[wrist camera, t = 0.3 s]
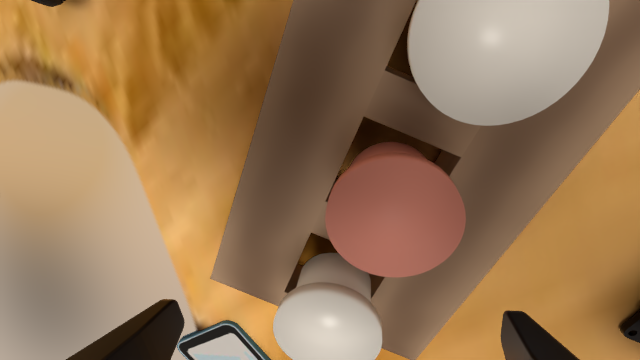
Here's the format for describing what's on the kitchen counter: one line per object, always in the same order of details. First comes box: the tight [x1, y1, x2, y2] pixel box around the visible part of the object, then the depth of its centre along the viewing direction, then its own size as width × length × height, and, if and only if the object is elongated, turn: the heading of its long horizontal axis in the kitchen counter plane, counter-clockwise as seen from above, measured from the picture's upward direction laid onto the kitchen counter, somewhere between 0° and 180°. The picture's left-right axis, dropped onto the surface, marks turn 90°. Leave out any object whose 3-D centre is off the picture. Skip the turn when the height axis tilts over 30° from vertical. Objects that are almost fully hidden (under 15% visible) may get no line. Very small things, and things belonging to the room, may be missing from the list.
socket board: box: [210, 0, 640, 360], centre depth 18 cm, size 15×23×3 cm, turn 159°
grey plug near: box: [407, 0, 609, 126], centre depth 12 cm, size 6×6×4 cm
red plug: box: [325, 142, 466, 277], centre depth 15 cm, size 6×6×4 cm
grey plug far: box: [273, 253, 382, 360], centre depth 18 cm, size 6×6×4 cm
